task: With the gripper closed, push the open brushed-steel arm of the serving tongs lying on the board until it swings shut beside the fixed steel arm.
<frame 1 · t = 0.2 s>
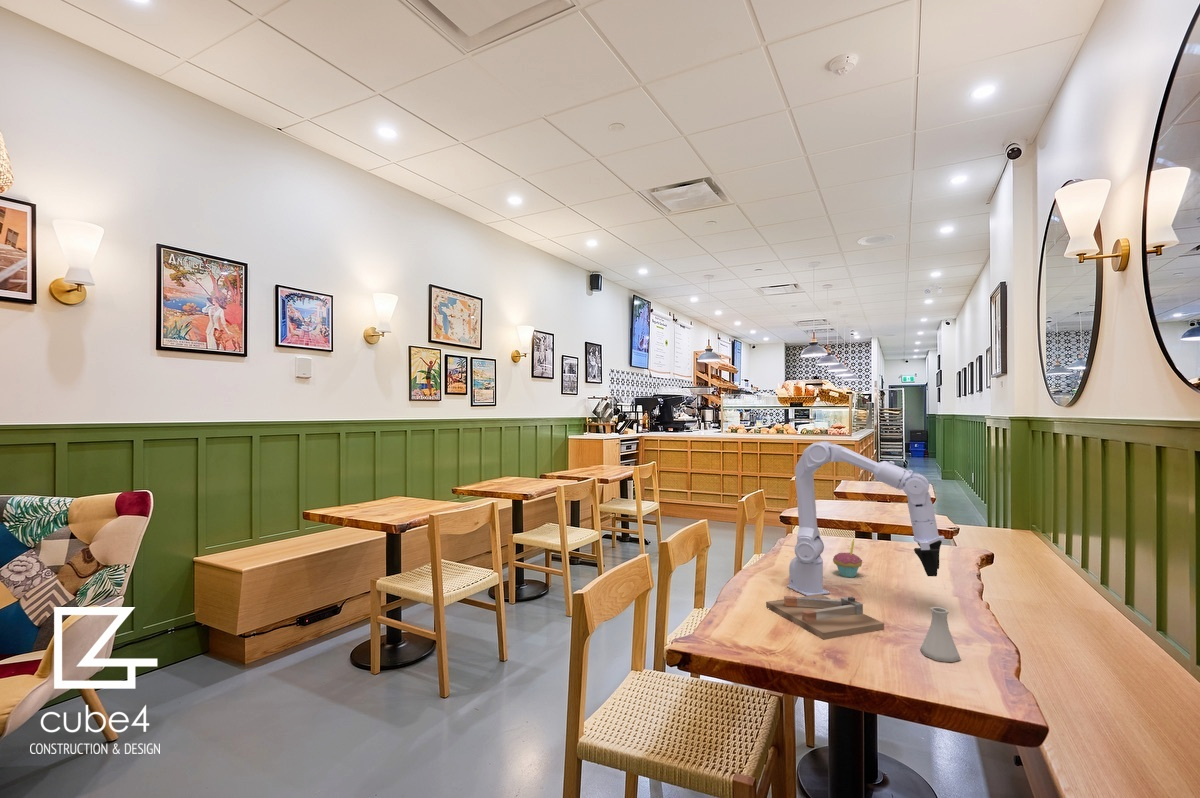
hand: (933, 572, 145), 11 cm above the table, tool pointing down, fingers open, 7 cm apart
flask: (940, 656, 120), on the table
tongs board: (822, 617, 142), on the table
cupcake: (847, 575, 178), on the table
tong arm: (812, 602, 145), point 3 cm above the table, hinge at 30.0°
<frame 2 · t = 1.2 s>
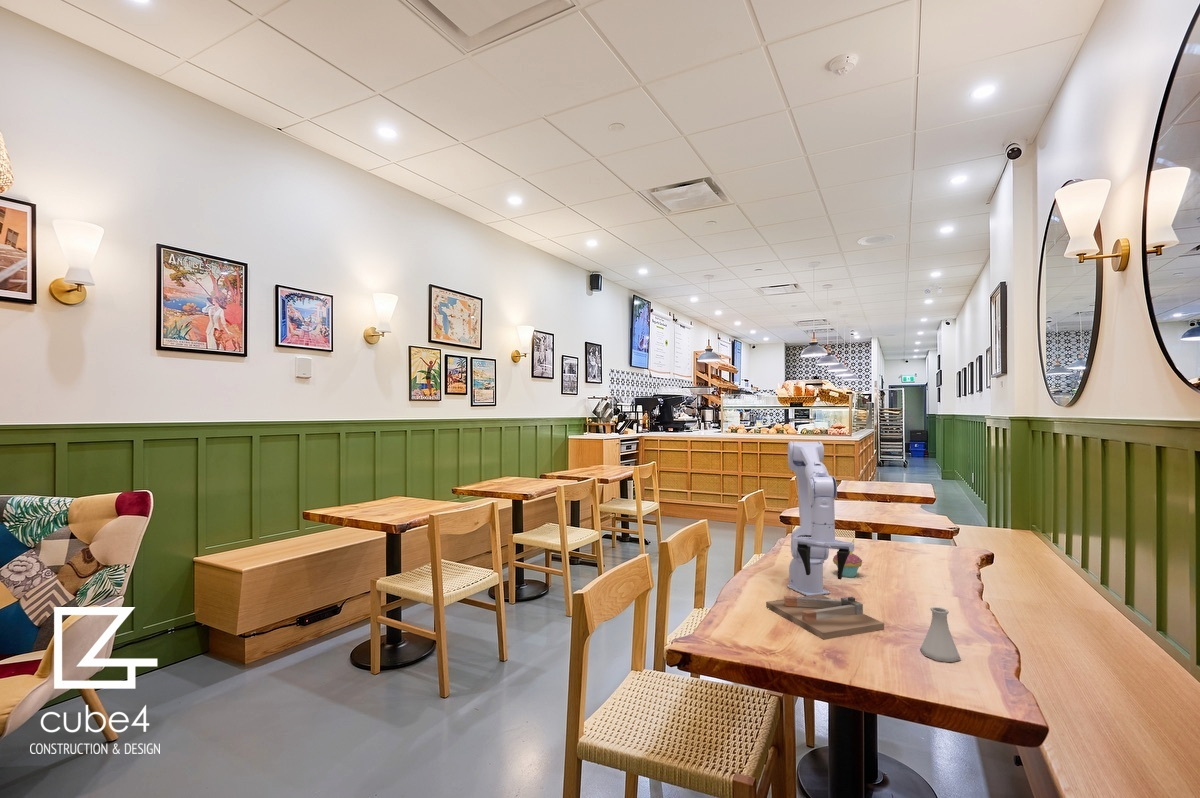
hand: (823, 576, 143), 10 cm above the table, tool pointing down, fingers open, 7 cm apart
nothing on the table moved.
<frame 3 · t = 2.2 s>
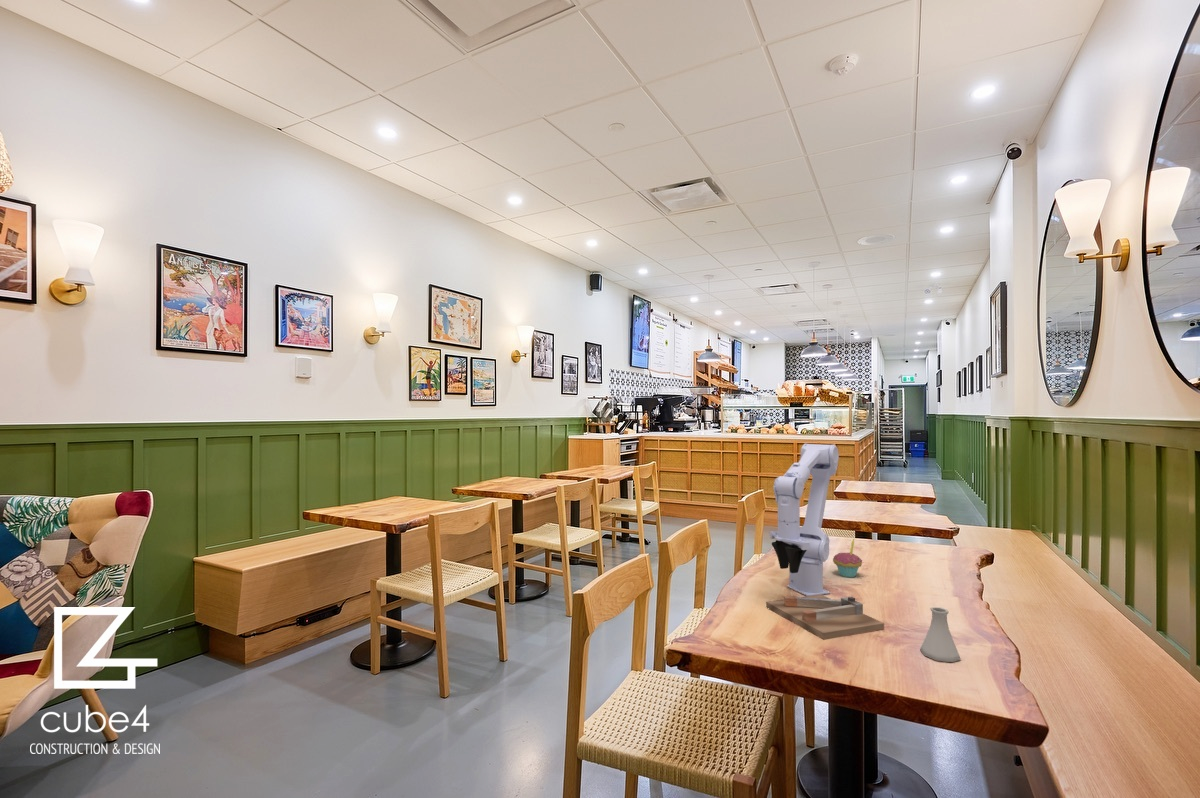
hand: (789, 570, 151), 9 cm above the table, tool pointing down, fingers open, 4 cm apart
nothing on the table moved.
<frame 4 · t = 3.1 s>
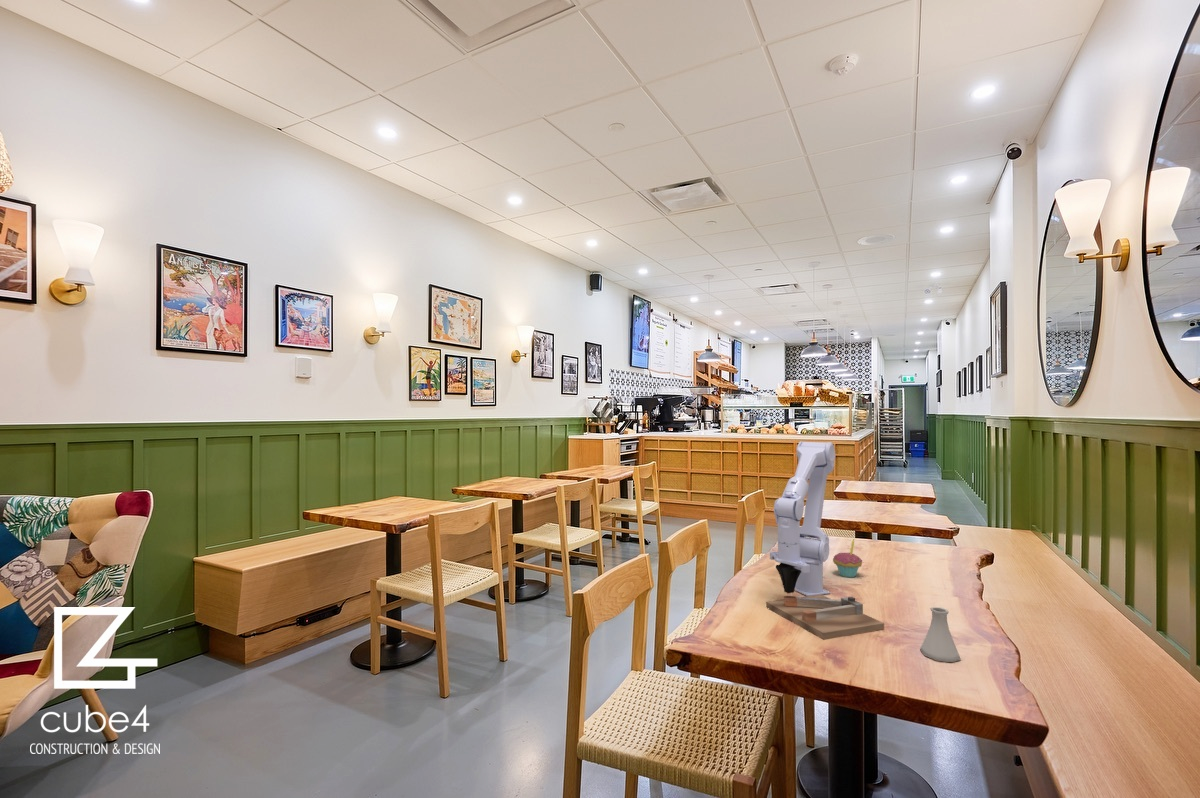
hand: (789, 592, 151), 4 cm above the table, tool pointing down, fingers closed
nothing on the table moved.
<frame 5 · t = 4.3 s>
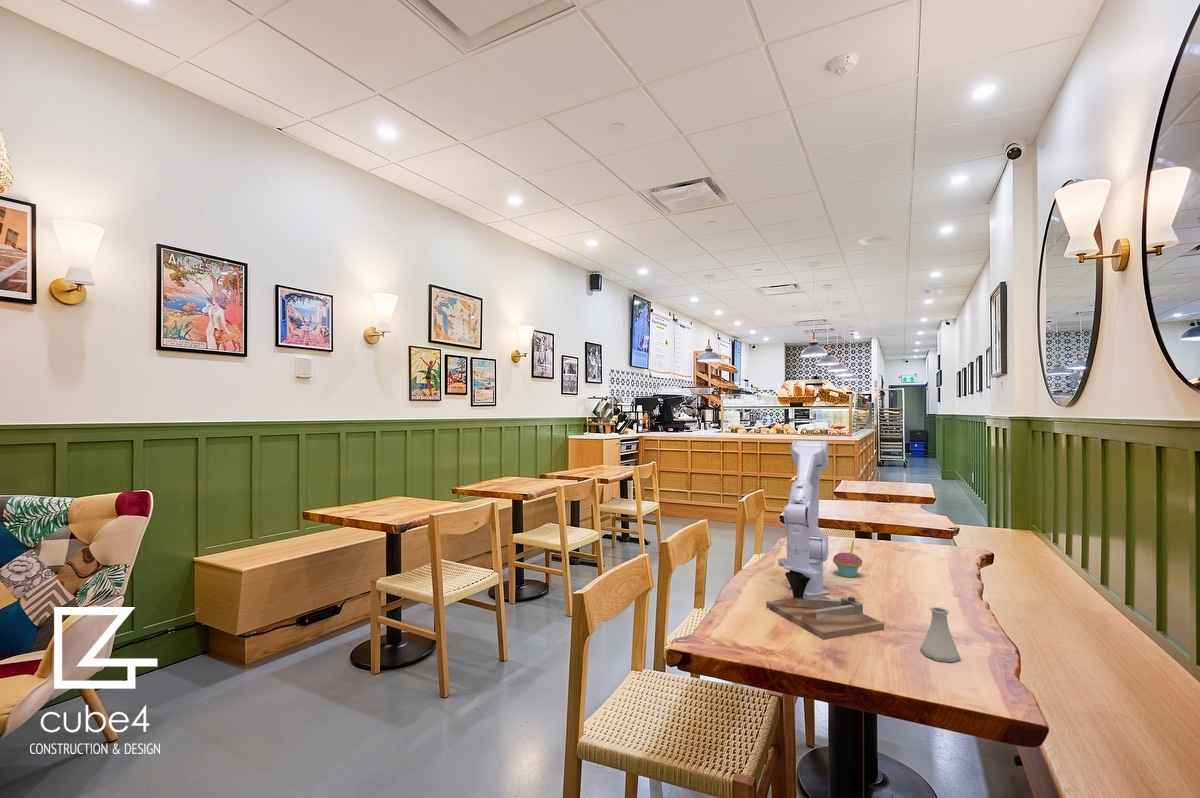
hand: (798, 600, 147), 3 cm above the table, tool pointing down, fingers closed
tong arm: (812, 602, 145), point 3 cm above the table, hinge at 28.6°, touching gripper
everything else where it was.
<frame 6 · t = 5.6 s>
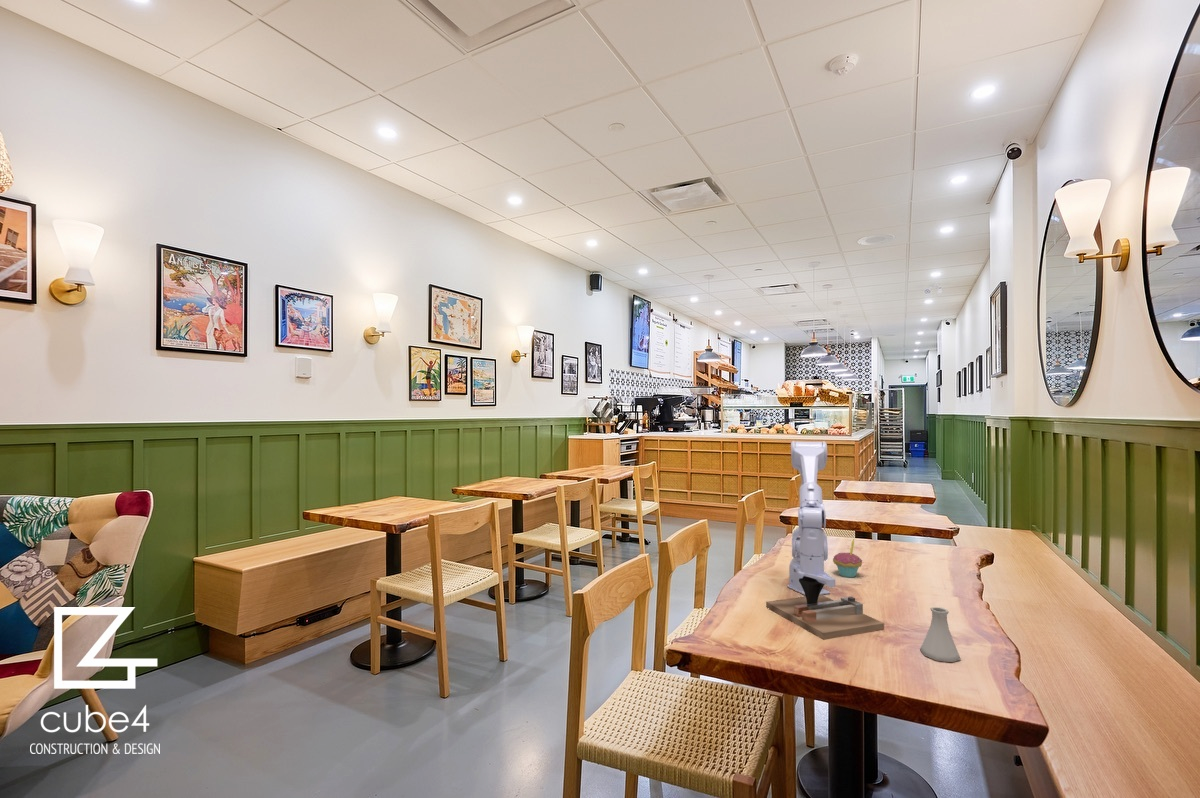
hand: (812, 607, 142), 3 cm above the table, tool pointing down, fingers closed
tong arm: (818, 607, 141), point 3 cm above the table, hinge at -0.4°, touching gripper
everything else where it was.
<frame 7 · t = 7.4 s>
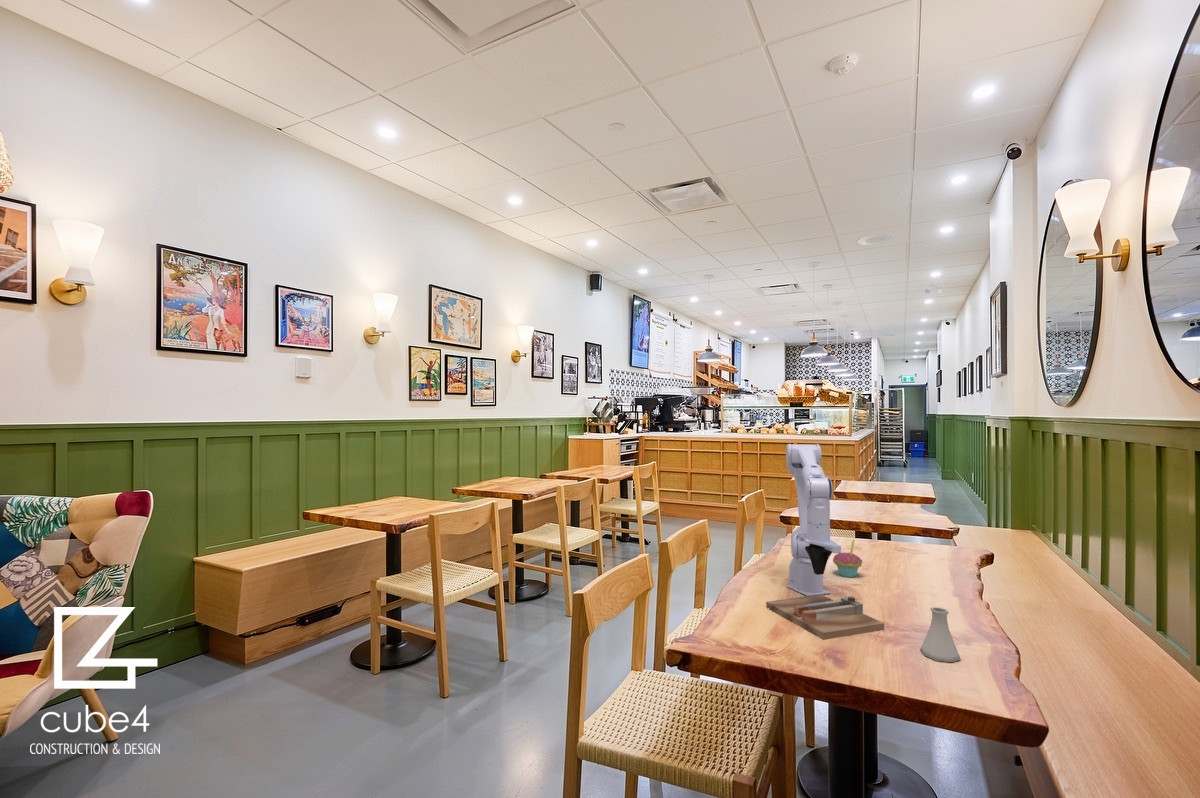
hand: (818, 573, 148), 9 cm above the table, tool pointing down, fingers closed
tong arm: (818, 607, 141), point 3 cm above the table, hinge at -0.5°
everything else where it was.
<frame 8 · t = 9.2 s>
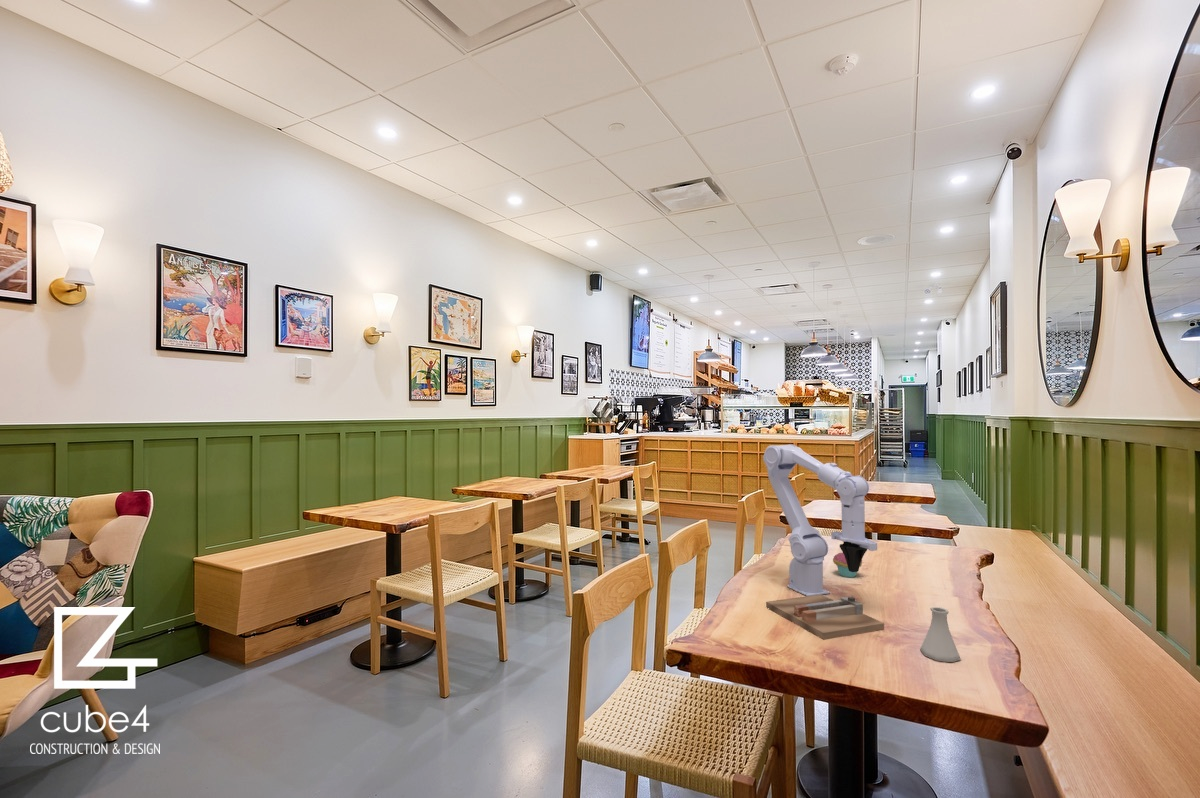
hand: (853, 571, 150), 9 cm above the table, tool pointing down, fingers closed
nothing on the table moved.
at the end: tong arm at +0° (first picture: +30°) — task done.
